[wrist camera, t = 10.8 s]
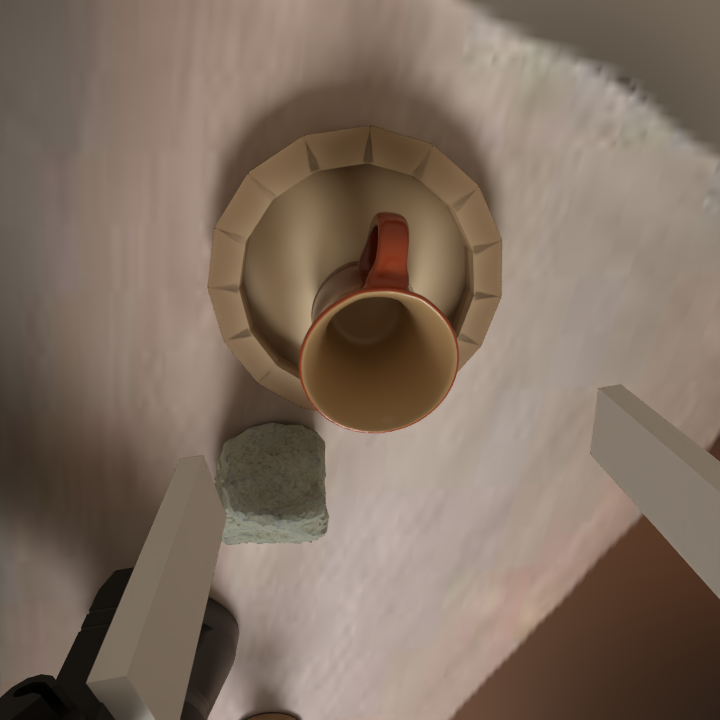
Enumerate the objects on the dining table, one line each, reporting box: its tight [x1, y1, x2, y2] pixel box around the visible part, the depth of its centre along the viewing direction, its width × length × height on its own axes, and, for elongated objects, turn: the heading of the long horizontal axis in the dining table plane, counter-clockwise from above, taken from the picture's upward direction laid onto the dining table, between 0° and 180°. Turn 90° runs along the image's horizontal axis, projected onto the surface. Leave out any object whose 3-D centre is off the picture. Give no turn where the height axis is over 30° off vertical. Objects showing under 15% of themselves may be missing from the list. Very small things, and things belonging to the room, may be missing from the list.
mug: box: [299, 212, 459, 433], centre depth 28 cm, size 12×9×10 cm
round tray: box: [208, 126, 502, 411], centre depth 32 cm, size 20×20×3 cm
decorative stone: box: [215, 422, 329, 545], centre depth 38 cm, size 13×11×10 cm
